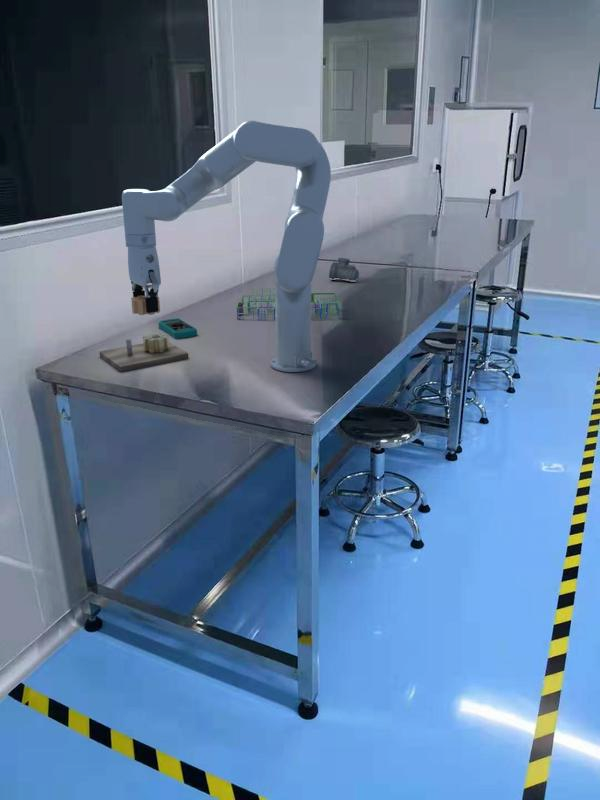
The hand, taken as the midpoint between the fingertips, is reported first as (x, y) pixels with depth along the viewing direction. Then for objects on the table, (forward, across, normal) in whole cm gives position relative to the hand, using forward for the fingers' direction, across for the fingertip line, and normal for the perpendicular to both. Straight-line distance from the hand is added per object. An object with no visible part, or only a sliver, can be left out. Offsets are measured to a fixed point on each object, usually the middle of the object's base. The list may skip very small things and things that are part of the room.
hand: (146, 308), depth 170 cm
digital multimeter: (+17, +27, -21) cm, 38 cm away
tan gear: (+1, 0, 0) cm, 1 cm away
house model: (+16, +29, -67) cm, 74 cm away
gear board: (+16, +9, -2) cm, 19 cm away
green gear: (+14, +8, -6) cm, 18 cm away
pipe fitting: (+16, +53, -114) cm, 127 cm away
